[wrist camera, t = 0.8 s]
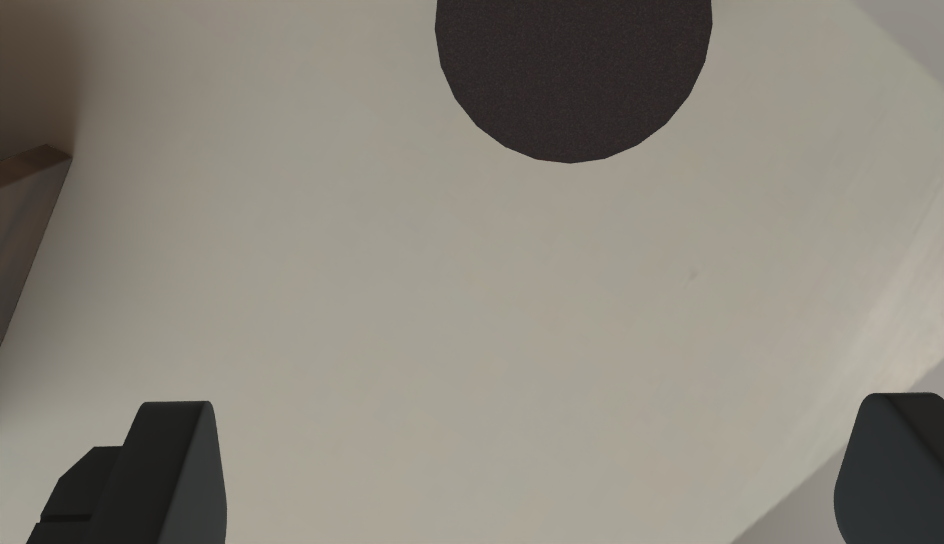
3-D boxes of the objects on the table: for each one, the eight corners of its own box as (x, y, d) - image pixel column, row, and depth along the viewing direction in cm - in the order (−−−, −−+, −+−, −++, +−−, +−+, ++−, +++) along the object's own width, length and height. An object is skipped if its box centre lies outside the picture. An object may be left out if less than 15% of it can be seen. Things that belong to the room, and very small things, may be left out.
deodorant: (517, 111, 34) (522, 210, 20) (438, -25, 32) (381, -23, 18) (651, 31, 33) (759, 76, 19) (576, -114, 31) (630, -187, 17)
